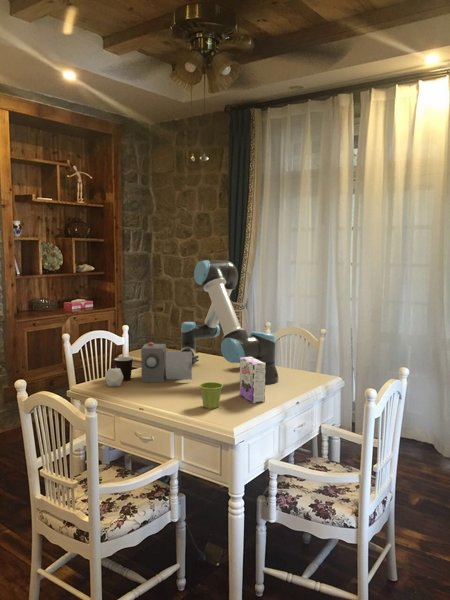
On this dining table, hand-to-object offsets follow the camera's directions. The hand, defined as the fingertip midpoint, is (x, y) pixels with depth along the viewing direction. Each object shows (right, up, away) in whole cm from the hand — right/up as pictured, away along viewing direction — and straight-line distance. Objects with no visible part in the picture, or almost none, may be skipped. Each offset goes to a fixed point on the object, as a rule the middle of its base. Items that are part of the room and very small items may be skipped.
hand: (183, 365), depth 239 cm
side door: (-2, -6, 0) cm, 7 cm away
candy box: (+31, -11, -26) cm, 41 cm away
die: (-31, -8, -7) cm, 33 cm away
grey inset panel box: (-14, -7, +5) cm, 17 cm away
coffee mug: (-29, -7, +6) cm, 30 cm away
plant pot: (+14, -12, -37) cm, 41 cm away
